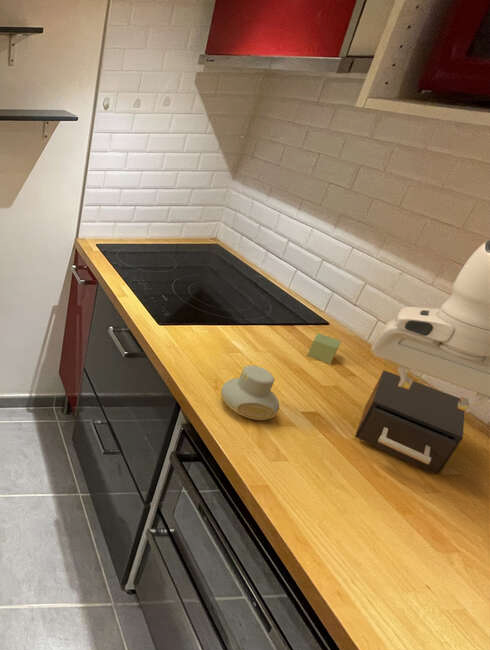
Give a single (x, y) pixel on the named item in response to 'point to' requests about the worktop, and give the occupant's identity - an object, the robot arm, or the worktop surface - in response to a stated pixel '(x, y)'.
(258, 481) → the worktop surface
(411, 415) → the small drawer unit
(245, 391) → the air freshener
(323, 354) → the block
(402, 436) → the open nightstand drawer
